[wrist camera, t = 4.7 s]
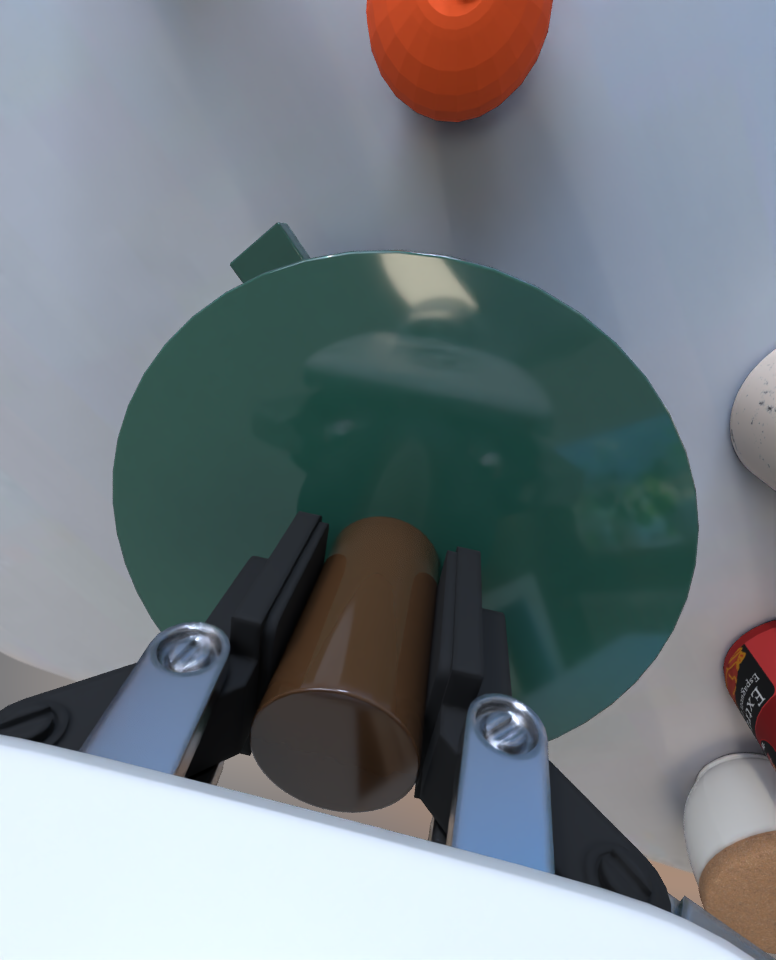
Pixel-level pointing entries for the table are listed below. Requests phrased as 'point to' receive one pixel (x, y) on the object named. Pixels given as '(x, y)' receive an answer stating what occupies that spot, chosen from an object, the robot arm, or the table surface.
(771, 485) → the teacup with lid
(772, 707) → the canned food
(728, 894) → the trinket box
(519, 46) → the clementine
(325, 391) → the pot lid
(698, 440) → the table surface
